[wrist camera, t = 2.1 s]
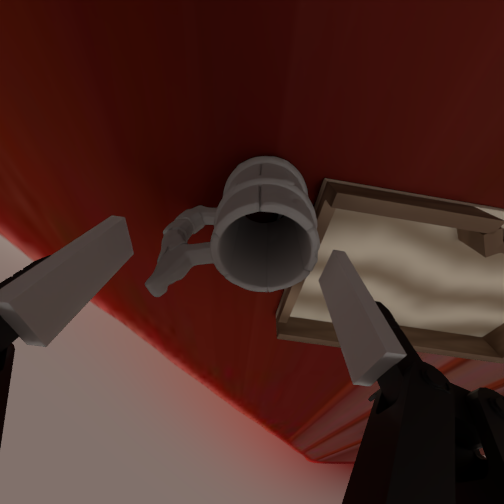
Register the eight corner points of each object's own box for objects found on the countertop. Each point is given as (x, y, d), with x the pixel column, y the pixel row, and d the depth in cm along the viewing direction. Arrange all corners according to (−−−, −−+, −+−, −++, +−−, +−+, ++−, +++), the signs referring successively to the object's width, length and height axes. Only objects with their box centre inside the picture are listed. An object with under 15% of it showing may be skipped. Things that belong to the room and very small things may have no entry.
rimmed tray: (324, 178, 18) (337, 192, 15) (640, 232, 19) (716, 257, 16) (275, 313, 30) (277, 338, 27) (472, 342, 31) (496, 368, 28)
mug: (305, 224, 21) (340, 323, 11) (201, 238, 23) (152, 333, 13) (304, 144, 16) (359, 192, 7) (174, 169, 18) (70, 234, 9)
